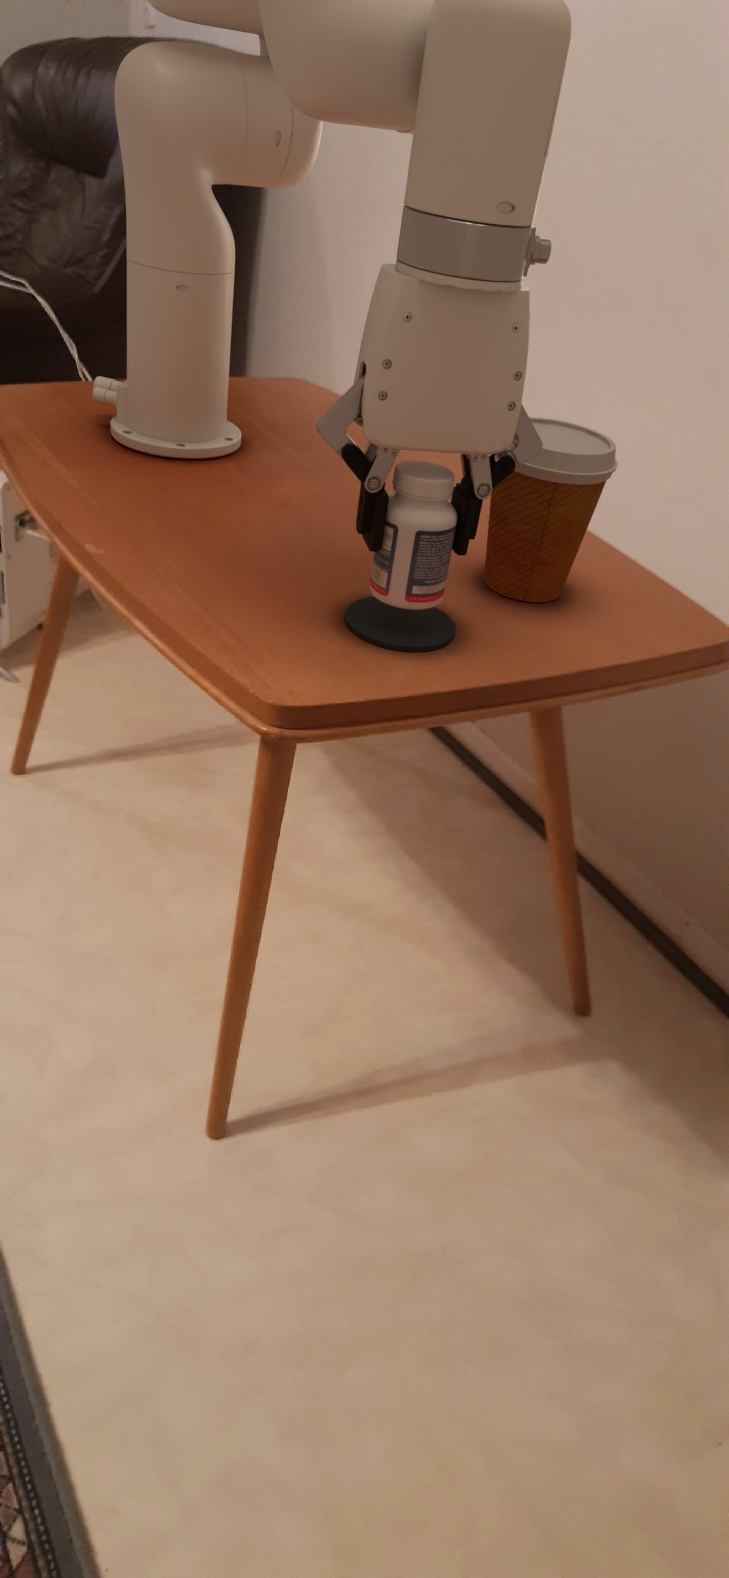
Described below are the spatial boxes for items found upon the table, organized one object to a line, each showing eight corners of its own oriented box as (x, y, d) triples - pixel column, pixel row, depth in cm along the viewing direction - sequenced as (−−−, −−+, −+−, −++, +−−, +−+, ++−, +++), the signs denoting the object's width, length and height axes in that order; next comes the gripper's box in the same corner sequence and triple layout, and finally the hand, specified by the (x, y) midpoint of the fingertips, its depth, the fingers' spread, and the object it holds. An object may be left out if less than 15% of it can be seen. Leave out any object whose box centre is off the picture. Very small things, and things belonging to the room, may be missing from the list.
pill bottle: (450, 591, 74) (474, 469, 69) (431, 618, 69) (455, 490, 64) (381, 573, 75) (399, 451, 70) (357, 599, 70) (375, 471, 65)
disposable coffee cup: (493, 551, 87) (524, 407, 81) (597, 587, 84) (639, 440, 77) (443, 584, 80) (472, 429, 74) (554, 624, 77) (596, 466, 70)
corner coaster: (328, 633, 71) (329, 627, 71) (364, 591, 77) (364, 586, 77) (439, 662, 69) (440, 657, 69) (465, 617, 76) (467, 613, 76)
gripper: (573, 256, 65) (512, 530, 75) (307, 224, 60) (281, 519, 71) (622, 279, 59) (548, 573, 69) (330, 245, 55) (298, 564, 65)
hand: (413, 543), depth 70 cm, fingers closed on pill bottle, 5 cm apart
